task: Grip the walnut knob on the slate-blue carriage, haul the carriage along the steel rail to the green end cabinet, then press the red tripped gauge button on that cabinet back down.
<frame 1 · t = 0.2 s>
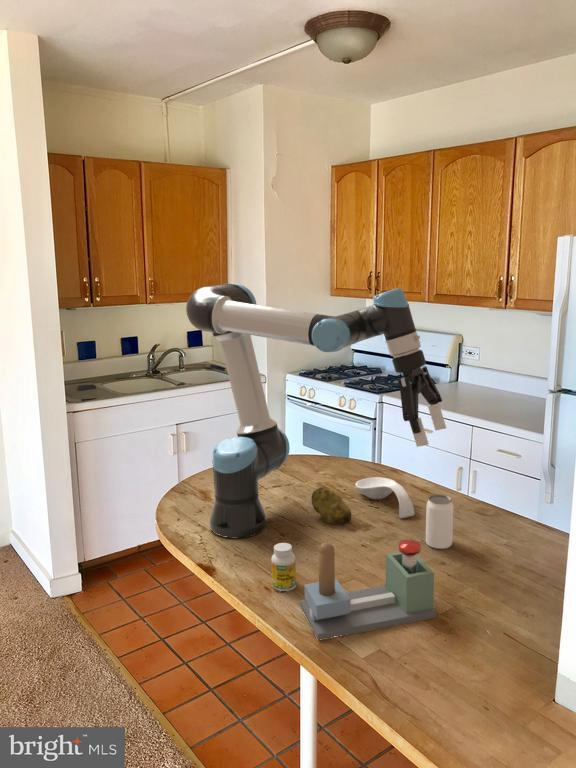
hand: (432, 437, 153), 28 cm above the counter, tool tilted 20°, fingers open, 13 cm apart
gauge button: (409, 564, 131), point 9 cm above the counter, slide at 0.0 cm
supplement bottle: (284, 586, 141), on the counter
potato: (330, 519, 174), on the counter
track: (366, 612, 131), on the counter
can: (438, 544, 158), on the counter
spoon rest: (385, 503, 184), on the counter
carriage: (326, 578, 126), point 9 cm above the counter, slide at 0.0 cm
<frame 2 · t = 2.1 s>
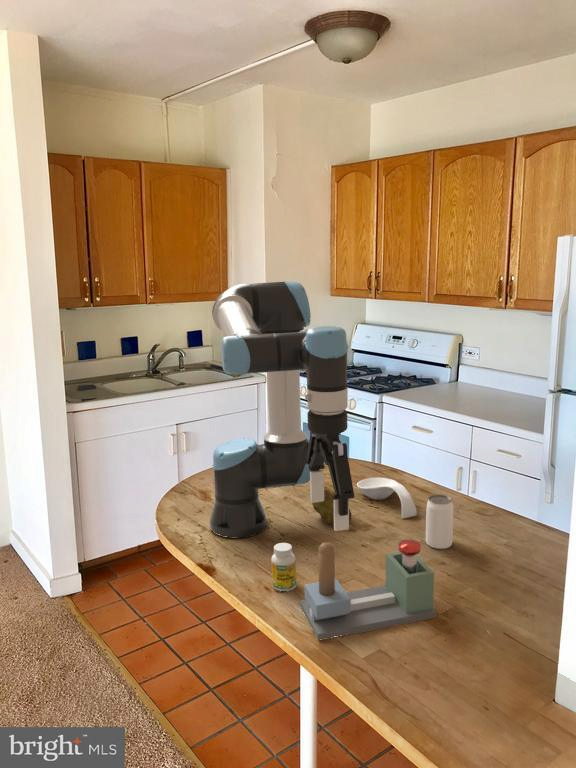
hand: (328, 514, 124), 23 cm above the counter, tool pointing down, fingers open, 13 cm apart
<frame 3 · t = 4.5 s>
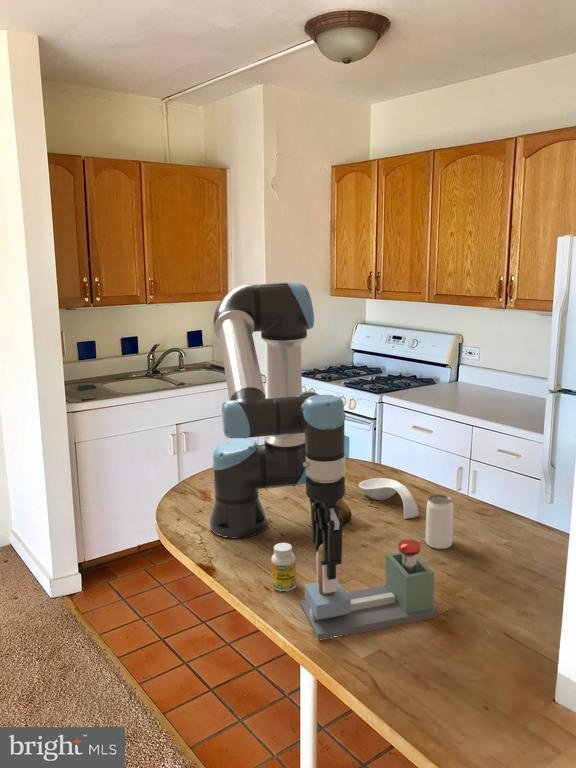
hand: (326, 586, 127), 8 cm above the counter, tool pointing down, fingers closed on carriage, 3 cm apart
carriage: (326, 578, 126), point 9 cm above the counter, slide at 0.0 cm, touching gripper
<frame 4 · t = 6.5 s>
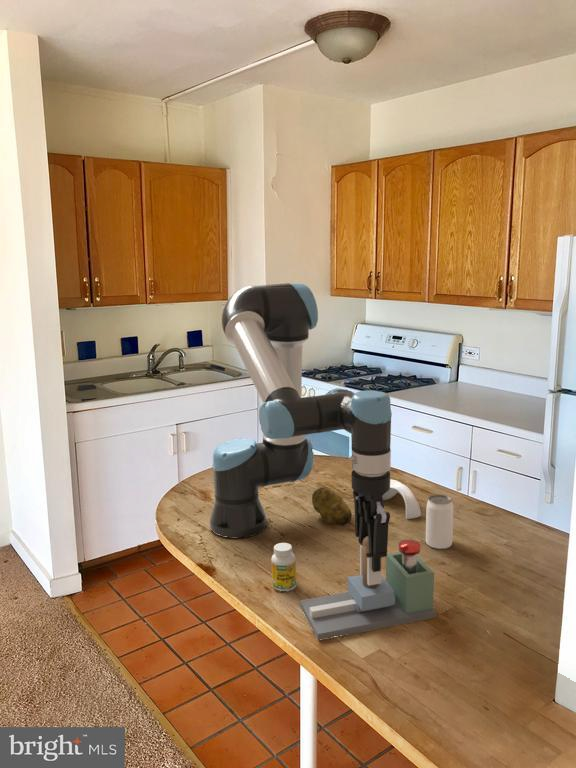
hand: (370, 578, 129), 8 cm above the counter, tool pointing down, fingers closed on carriage, 3 cm apart
carriage: (370, 570, 129), point 9 cm above the counter, slide at 9.4 cm, touching gripper
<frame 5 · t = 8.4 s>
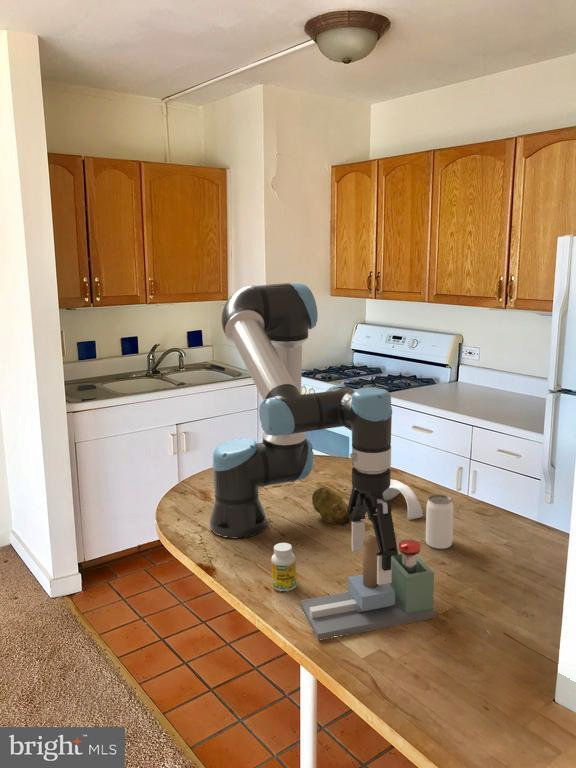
hand: (370, 565, 129), 10 cm above the counter, tool pointing down, fingers open, 13 cm apart
carriage: (370, 570, 129), point 9 cm above the counter, slide at 9.5 cm
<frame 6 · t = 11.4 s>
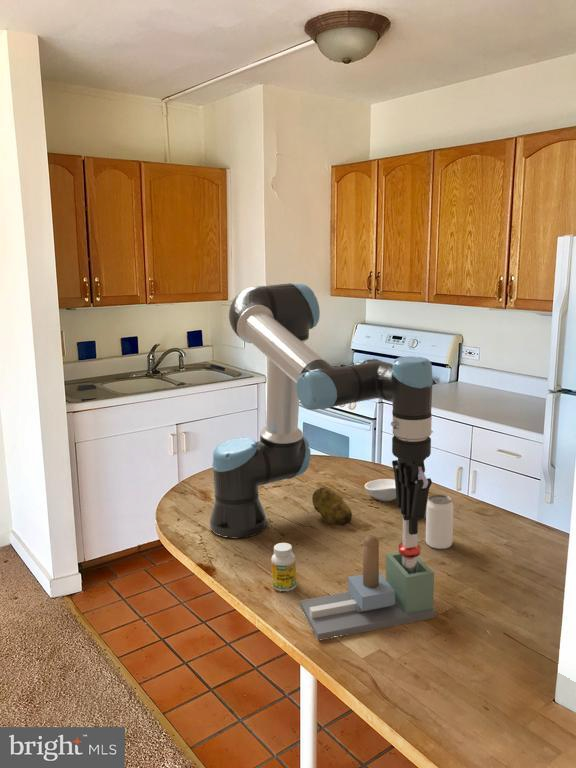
hand: (409, 545, 130), 13 cm above the counter, tool pointing down, fingers closed
gauge button: (409, 567, 131), point 9 cm above the counter, slide at 0.5 cm, touching gripper
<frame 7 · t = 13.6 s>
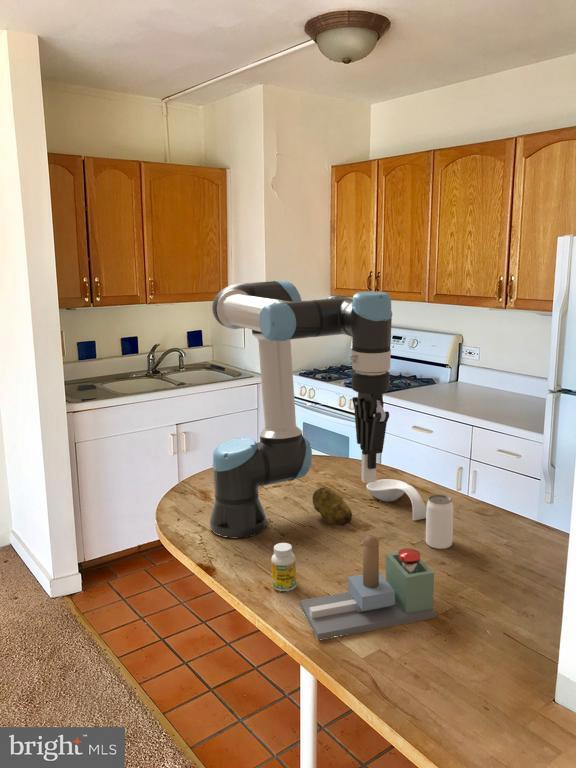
hand: (368, 480, 132), 26 cm above the counter, tool pointing down, fingers closed
gauge button: (409, 573, 131), point 7 cm above the counter, slide at 2.0 cm
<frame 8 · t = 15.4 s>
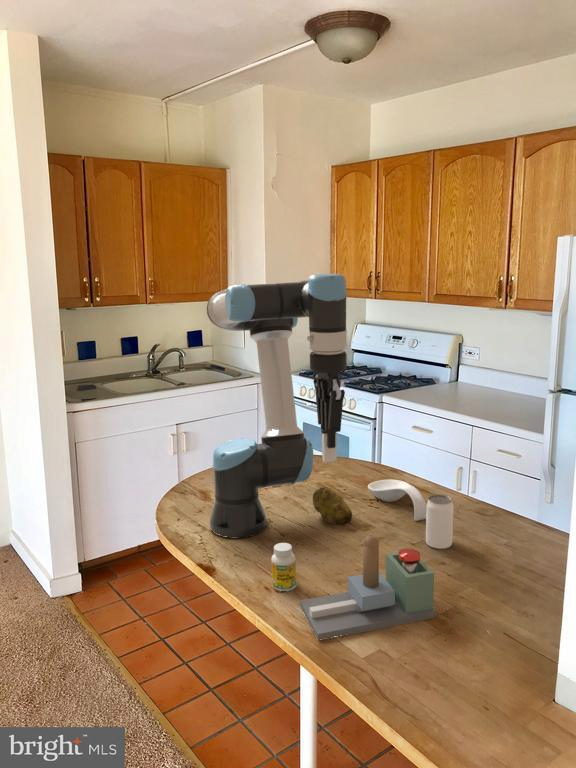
hand: (329, 460, 134), 29 cm above the counter, tool pointing down, fingers closed
at the end: carriage slide at 9.5 cm; gauge button slide at 2.0 cm; supplement bottle moved 0.2 cm from its start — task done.
